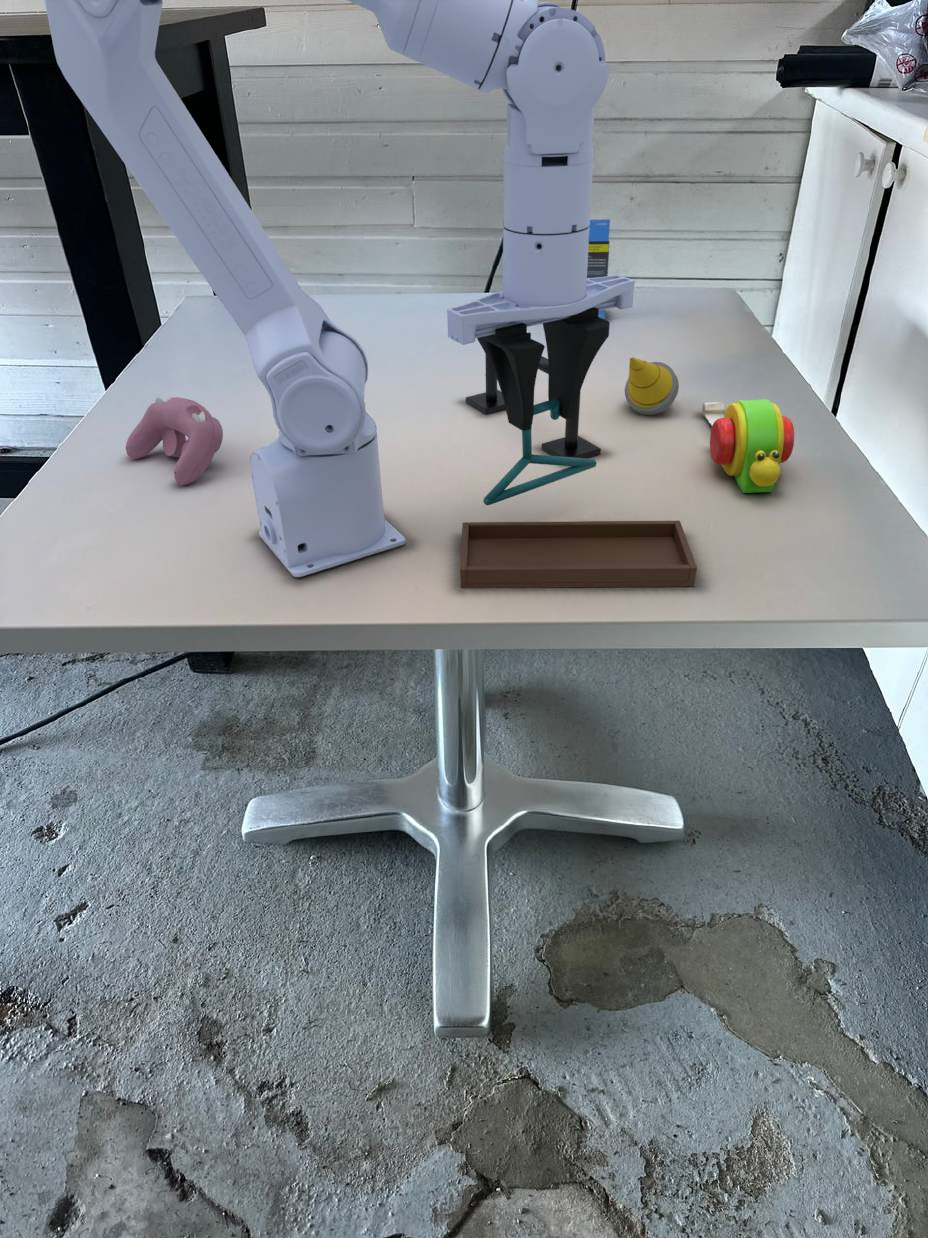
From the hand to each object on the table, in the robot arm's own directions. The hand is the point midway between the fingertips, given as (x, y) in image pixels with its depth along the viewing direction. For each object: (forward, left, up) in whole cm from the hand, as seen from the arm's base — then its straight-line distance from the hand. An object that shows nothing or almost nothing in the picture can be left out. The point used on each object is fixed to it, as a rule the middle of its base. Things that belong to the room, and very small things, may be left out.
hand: (540, 419), depth 67 cm
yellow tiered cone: (+23, +13, -10) cm, 28 cm away
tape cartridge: (+36, +44, -10) cm, 58 cm away
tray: (-1, -6, -9) cm, 11 cm away
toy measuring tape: (+23, +1, -10) cm, 25 cm away
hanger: (0, 0, -6) cm, 6 cm away
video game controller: (-21, +28, -10) cm, 37 cm away
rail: (+11, +17, -9) cm, 22 cm away
